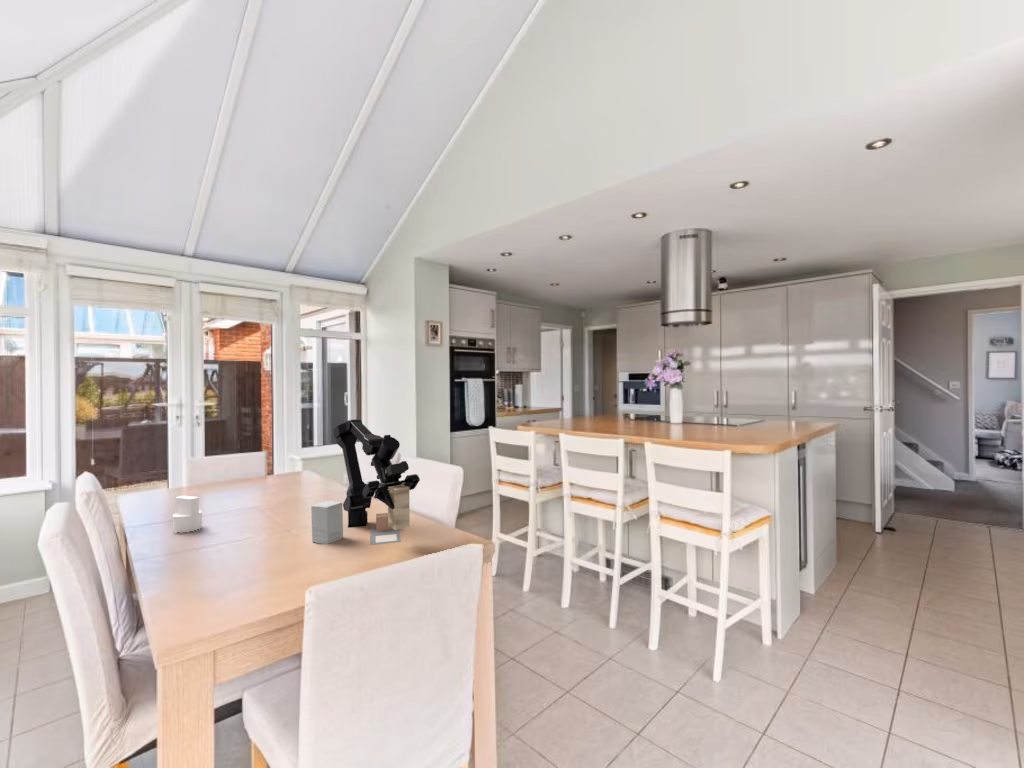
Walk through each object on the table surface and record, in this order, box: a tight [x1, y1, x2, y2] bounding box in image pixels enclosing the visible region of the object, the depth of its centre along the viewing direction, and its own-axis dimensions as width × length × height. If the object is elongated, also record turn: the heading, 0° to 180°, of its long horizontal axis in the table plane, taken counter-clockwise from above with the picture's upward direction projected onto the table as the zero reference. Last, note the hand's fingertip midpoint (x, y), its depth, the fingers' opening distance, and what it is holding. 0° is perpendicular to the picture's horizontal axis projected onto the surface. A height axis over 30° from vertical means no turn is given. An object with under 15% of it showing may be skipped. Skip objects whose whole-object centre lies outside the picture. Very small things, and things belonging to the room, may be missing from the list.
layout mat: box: [369, 526, 402, 546], centre depth 168 cm, size 10×20×1 cm, turn 16°
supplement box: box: [310, 500, 344, 545], centre depth 164 cm, size 7×7×13 cm
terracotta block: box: [375, 512, 391, 531], centre depth 174 cm, size 5×5×5 cm
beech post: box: [387, 485, 411, 530], centre depth 157 cm, size 5×5×13 cm
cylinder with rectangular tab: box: [172, 495, 203, 533], centre depth 179 cm, size 9×9×12 cm
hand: (400, 507), depth 156 cm, fingers closed on beech post, 5 cm apart
